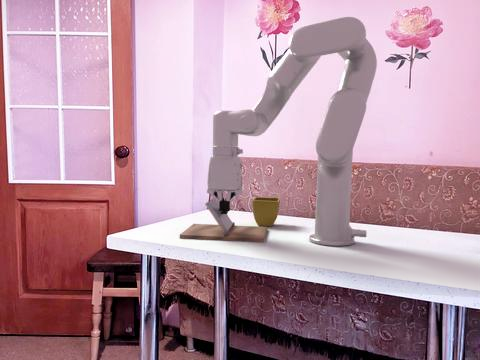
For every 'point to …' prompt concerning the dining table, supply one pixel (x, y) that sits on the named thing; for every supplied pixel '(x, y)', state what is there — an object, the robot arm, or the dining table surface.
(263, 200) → the flower pot
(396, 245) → the dining table surface
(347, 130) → the robot arm
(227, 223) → the tile
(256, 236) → the hinge board
